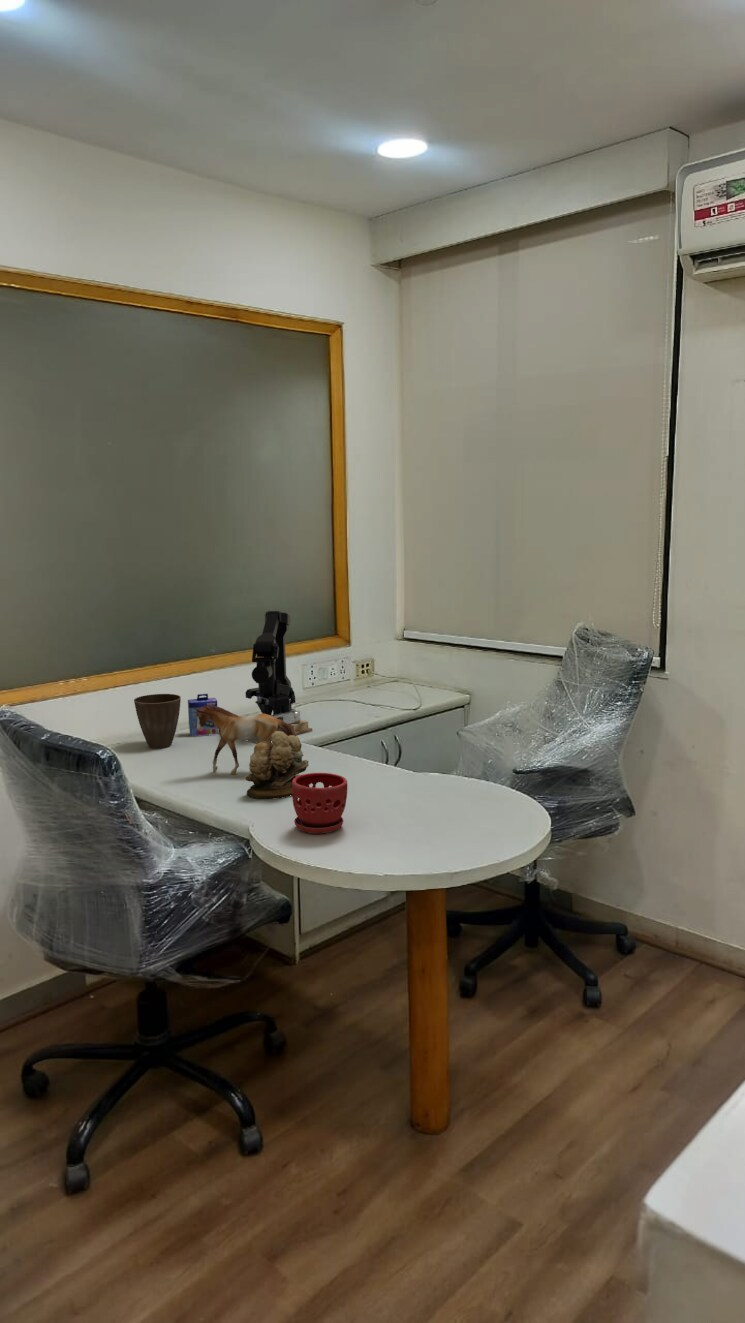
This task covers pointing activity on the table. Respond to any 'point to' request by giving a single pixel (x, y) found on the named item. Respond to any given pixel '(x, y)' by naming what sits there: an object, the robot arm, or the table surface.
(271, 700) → the robot arm
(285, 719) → the lock bar
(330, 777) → the plant pot
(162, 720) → the plant pot
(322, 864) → the table surface
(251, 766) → the beige lumpy carved figure
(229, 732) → the horse figurine
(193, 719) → the ink cartridge box
